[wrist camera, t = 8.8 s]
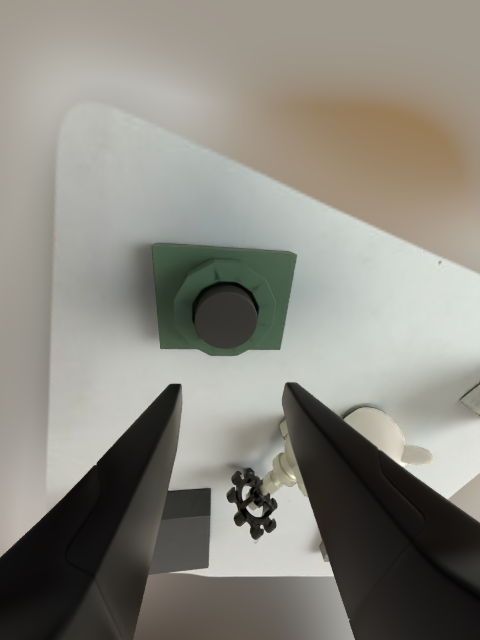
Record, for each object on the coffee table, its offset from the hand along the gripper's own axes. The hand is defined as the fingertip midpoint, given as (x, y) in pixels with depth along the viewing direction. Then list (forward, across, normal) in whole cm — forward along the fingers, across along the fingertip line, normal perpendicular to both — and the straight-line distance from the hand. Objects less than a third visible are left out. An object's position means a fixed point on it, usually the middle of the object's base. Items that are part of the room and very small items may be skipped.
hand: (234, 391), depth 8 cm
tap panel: (+11, +8, +31) cm, 34 cm away
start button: (+8, 0, 0) cm, 8 cm away
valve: (+11, -7, +18) cm, 23 cm away
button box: (+11, 0, 0) cm, 11 cm away
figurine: (+11, -17, +16) cm, 26 cm away
